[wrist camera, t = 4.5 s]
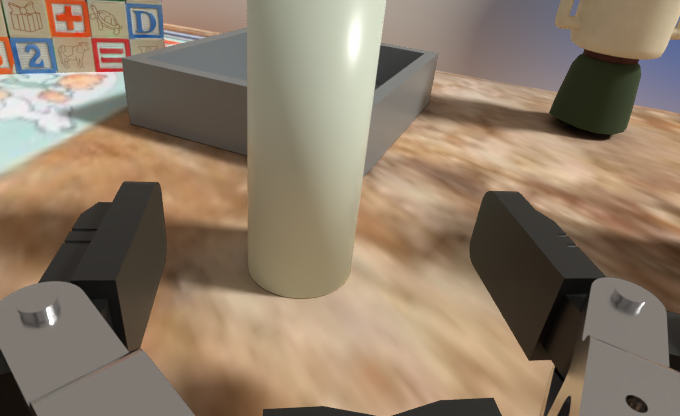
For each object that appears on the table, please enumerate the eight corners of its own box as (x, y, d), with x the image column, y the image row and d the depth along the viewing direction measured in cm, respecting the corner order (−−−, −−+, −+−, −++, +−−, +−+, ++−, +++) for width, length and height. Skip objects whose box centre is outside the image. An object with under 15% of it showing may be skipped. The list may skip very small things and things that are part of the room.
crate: (130, 123, 33) (121, 58, 31) (267, 68, 49) (267, 22, 47) (356, 185, 29) (365, 113, 26) (429, 103, 44) (438, 53, 42)
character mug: (622, 119, 46) (684, -33, 39) (667, 148, 40) (749, -25, 33) (511, 108, 45) (555, -47, 39) (538, 137, 39) (597, -42, 32)
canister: (227, 276, 20) (217, -39, 14) (279, 226, 24) (289, -42, 18) (325, 312, 19) (360, -19, 13) (364, 252, 23) (406, -26, 17)
